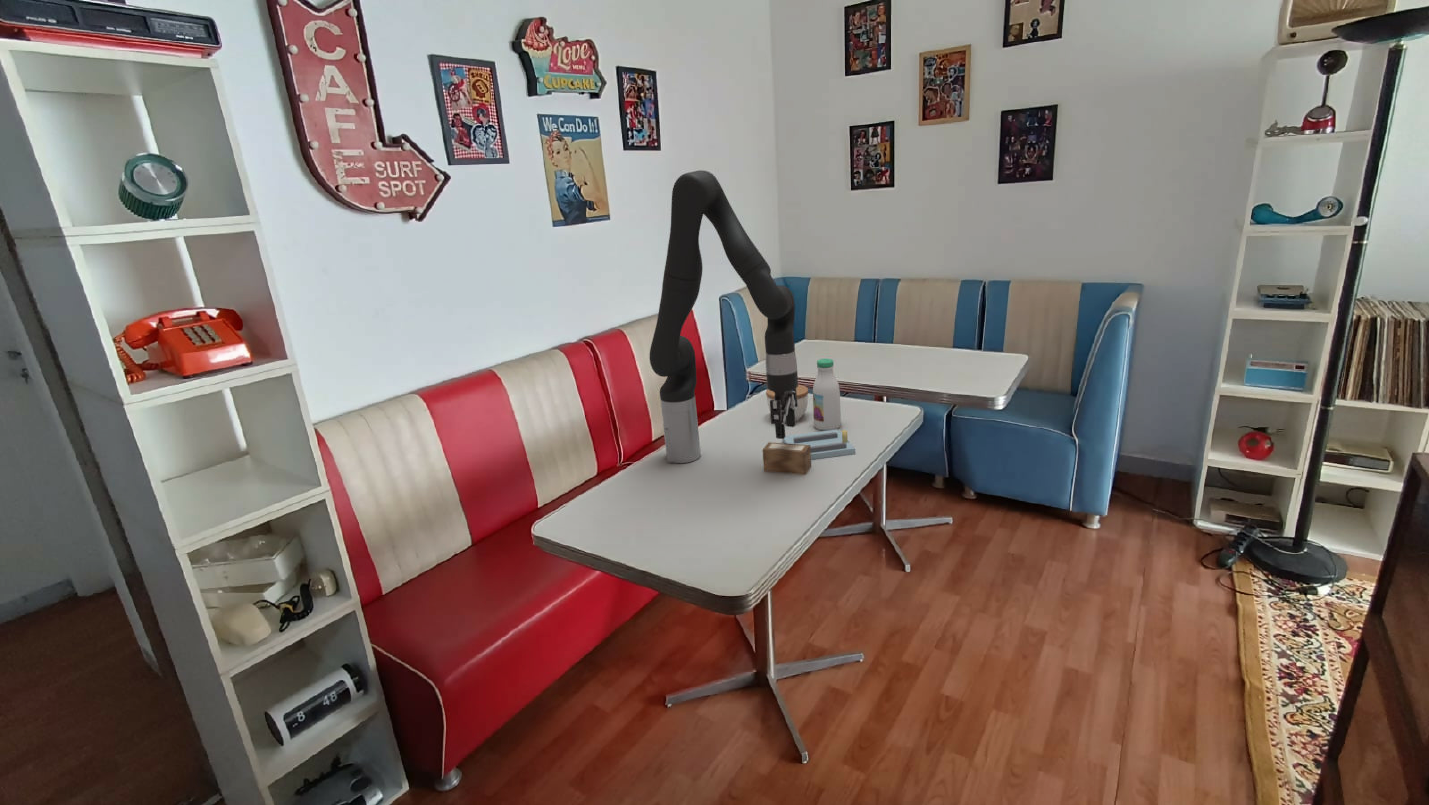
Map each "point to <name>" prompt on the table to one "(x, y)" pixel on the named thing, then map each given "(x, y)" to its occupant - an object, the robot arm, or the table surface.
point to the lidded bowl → (801, 400)
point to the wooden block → (787, 458)
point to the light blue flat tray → (823, 443)
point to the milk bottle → (826, 397)
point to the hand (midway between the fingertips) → (786, 432)
